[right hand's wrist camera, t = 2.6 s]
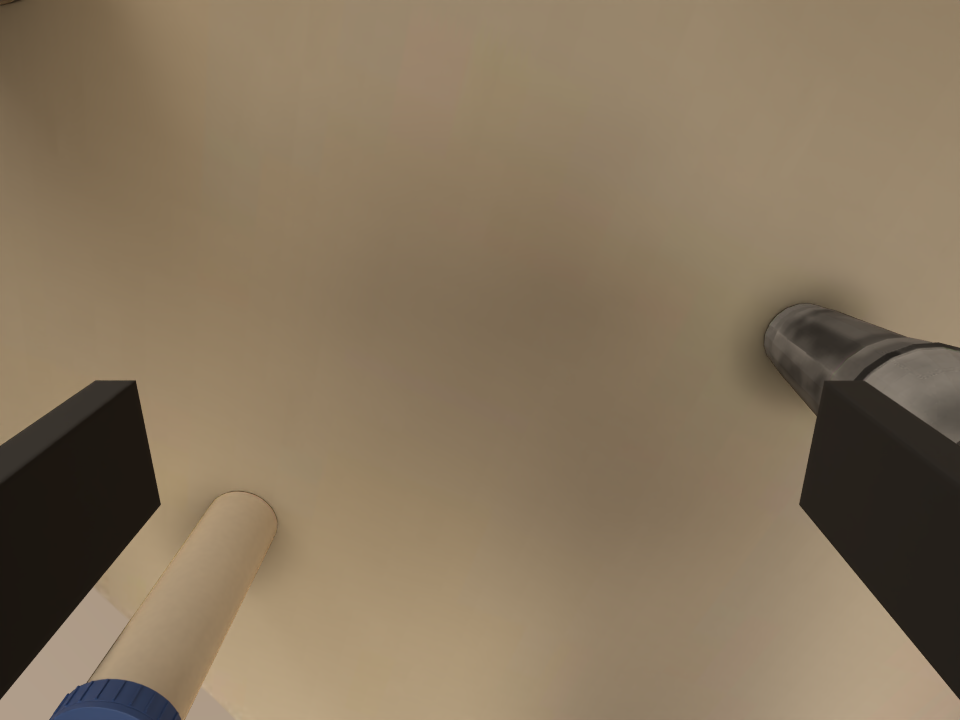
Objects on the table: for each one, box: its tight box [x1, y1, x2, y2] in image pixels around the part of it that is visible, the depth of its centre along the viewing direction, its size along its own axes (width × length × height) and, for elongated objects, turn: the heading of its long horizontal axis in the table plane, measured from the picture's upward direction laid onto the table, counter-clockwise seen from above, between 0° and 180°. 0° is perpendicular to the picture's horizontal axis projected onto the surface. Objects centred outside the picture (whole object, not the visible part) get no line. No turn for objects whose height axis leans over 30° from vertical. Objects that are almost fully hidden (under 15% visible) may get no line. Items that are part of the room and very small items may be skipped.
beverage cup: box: [764, 304, 960, 446], centre depth 32 cm, size 7×7×20 cm
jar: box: [87, 492, 277, 720], centre depth 38 cm, size 5×5×18 cm
